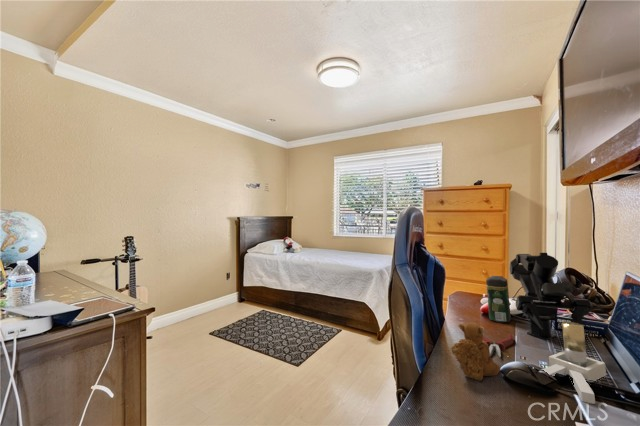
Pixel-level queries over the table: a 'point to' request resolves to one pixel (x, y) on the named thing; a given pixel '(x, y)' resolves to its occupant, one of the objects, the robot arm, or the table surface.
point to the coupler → (574, 343)
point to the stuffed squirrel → (474, 353)
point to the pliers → (499, 344)
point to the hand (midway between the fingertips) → (561, 330)
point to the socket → (577, 373)
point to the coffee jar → (498, 299)
